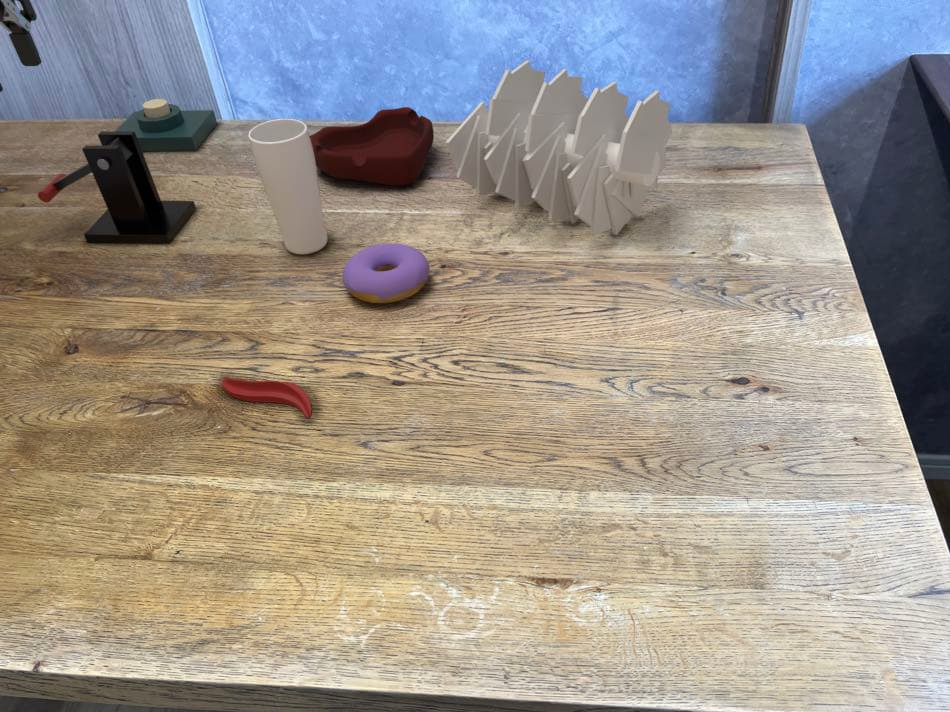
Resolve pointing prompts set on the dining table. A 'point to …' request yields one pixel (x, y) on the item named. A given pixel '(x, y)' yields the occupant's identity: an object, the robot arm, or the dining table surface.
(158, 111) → the button
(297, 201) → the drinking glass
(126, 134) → the bracket
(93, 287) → the dining table surface
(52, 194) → the lever
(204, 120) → the control block
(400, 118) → the ashtray
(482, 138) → the spiral staircase
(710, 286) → the dining table surface
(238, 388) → the cayenne pepper
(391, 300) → the donut
